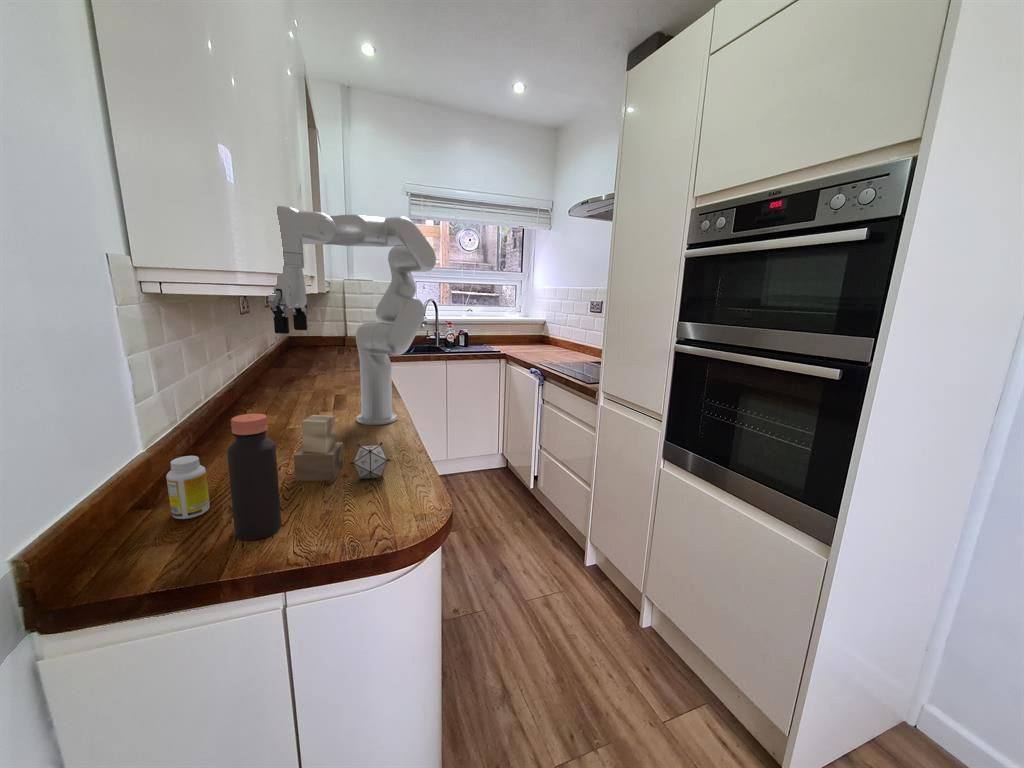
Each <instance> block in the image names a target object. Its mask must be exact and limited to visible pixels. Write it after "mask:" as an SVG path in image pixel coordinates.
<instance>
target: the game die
mask: <svg viewBox="0 0 1024 768" xmlns="http://www.w3.org/2000/svg"><path fill="white" fill-rule="evenodd" d="M382 445H383V441H381V442H380V443H379V444H375V445H374V444H373V445H371V444H370V445H361V444H360V443H358V442H357V445H356V446H357V447H358V448H357V452H356V454H355V456H354V459H353V461H350V462H349V465H353V467H354V468H355V472H356V474H357V475H358V480H357V482H358V483H360V482H361V480H363V479H364V480H365V479H374V478H375V479H376V478H380V480H383V481H384V477H383V474H384V471H385V469H386V466H387V464H388V462H391V459H390V458H387V456H386V454H385V452H384V449H383V446H382Z"/></svg>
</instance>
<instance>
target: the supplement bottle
mask: <svg viewBox="0 0 1024 768" xmlns="http://www.w3.org/2000/svg"><path fill="white" fill-rule="evenodd" d="M165 477H166V485H167V491H168V493H167V494H168V498H169V506H170V512H171V513H170V514H171V516H172V517H173V518H174V519H178V520H186V519H187V520H188V519H193V518H196V517H197V518H198V517H199V516H201V515H204V514H205V513H206V512H207V511H209V509H210V506H211V504H210V496H209V495H210V493H209V487H208V486H209V485H208V479H207V471H206V467H205V466H203V465H201V463H200V458H199V456H197V455H186V456H185V455H184V456H179V457H176V458H174V459H172V460H171V461H170V470H169V471H168V472H167V474H166V476H165Z"/></svg>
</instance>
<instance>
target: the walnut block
mask: <svg viewBox="0 0 1024 768" xmlns="http://www.w3.org/2000/svg"><path fill="white" fill-rule="evenodd" d="M344 463H345V462H344V442H342V441H341V442H340V441H339V442H336V445H335V446H334V447H333V448H332V449H330V450H329V451H328V452H327V453H316V452H303V446H302V447H301V448H299V449H298V450H297V451H296V453H295V454H293V465H294V466H293V467H294V479H295V482H297V481H302V482H303V481H306V482H307V481H335V479H336V478H337V476H338V475H339V474H340V472H341V470H342V469H343V467H344V466H345V465H344Z"/></svg>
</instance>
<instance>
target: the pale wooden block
mask: <svg viewBox="0 0 1024 768" xmlns="http://www.w3.org/2000/svg"><path fill="white" fill-rule="evenodd" d="M335 417H336V416H335V415H324V414H323V415H321V414H311V415H310V416H308V417H307V418H304V419H303V420H302V421H301V433H302V447H303V452H316V453H327V452H328V451H329V450H330V449H332V448H333V447H334V446H335V445H336V441H337V440H336V418H335Z"/></svg>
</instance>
